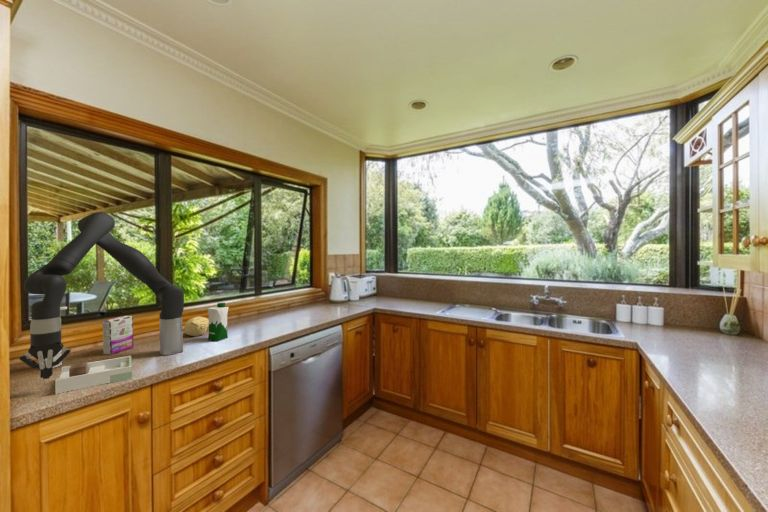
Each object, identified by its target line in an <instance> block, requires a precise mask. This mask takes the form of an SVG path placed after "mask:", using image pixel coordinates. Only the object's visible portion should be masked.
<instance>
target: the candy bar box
mask: <svg viewBox="0 0 768 512" xmlns="http://www.w3.org/2000/svg"><path fill="white" fill-rule="evenodd" d="M133 319H134V318H133V316H132V315H124V316H123V315H122V316H118V317H114V318H110V319H106V320H102V342H103V343H102V345H103V346H102V349H103V355H108V354H109V355H110V356H112V355H115V354H119V353H120V352H125V351H127V350H130V349H132V348H134V322H133V321H134V320H133Z"/></svg>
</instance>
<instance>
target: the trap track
mask: <svg viewBox="0 0 768 512" xmlns="http://www.w3.org/2000/svg"><path fill="white" fill-rule="evenodd" d="M132 361H133V360H132V355H127V356H120V357H115V358H110V359H103V360H97V361H91V362H86V363H87V374H84V375H78V376H73V377H69V368H70V366H71V365H67V366H61V373H60V376H58V378H57V379H55V388H54V389H55V395H59V394H58V393H60V394H63V393H62V392H64V393H68V392H67V391H69V392H72V391H71V390H74V391H78V390H77V389H79V390H83V389H82V388H84V389H87V388H86V387H89V388H92V387H91V386H94V387H97V386H96V385H99V384H104V383H109V384H111V383H110V382H114V383H116V382H115V381H119V382H122V381H121V380H124V381H128V380H127V379H129V380H131V379H130V378H132V379H133V362H132ZM104 385H105V384H104ZM99 386H100V385H99Z"/></svg>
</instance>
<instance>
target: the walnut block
mask: <svg viewBox="0 0 768 512" xmlns="http://www.w3.org/2000/svg"><path fill="white" fill-rule="evenodd" d="M87 363H88V362H82V363H76V364H71V365H69V366H70V368H69V377H73V376H78V375H84V374H87Z"/></svg>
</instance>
